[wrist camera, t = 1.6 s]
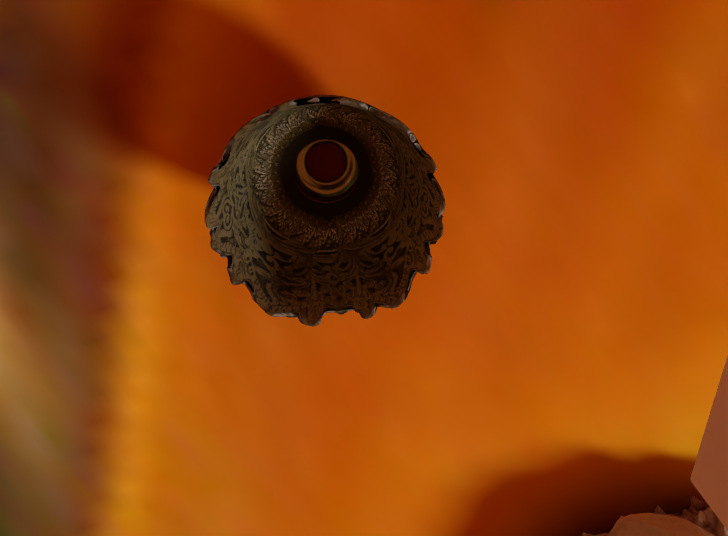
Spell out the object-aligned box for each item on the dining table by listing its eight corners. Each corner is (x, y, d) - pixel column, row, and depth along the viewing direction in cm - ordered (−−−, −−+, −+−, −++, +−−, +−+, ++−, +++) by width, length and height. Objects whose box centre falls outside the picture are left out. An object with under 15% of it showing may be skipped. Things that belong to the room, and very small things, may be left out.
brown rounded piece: (245, 248, 29) (218, 334, 22) (226, 74, 26) (187, 104, 19) (414, 240, 29) (444, 322, 22) (413, 67, 26) (448, 93, 19)
